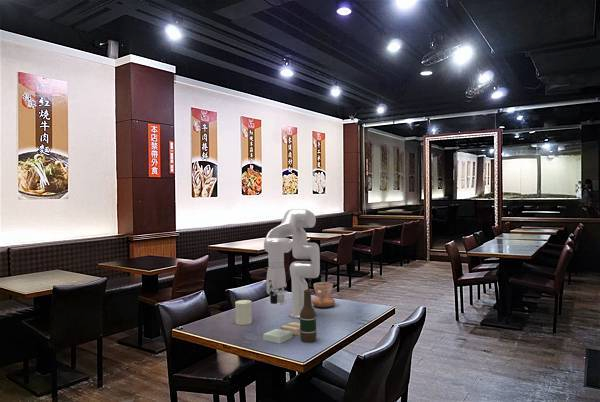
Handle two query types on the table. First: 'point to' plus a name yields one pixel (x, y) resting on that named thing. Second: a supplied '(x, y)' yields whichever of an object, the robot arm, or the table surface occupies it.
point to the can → (243, 312)
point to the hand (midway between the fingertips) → (277, 301)
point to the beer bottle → (307, 319)
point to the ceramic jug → (323, 295)
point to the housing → (279, 297)
